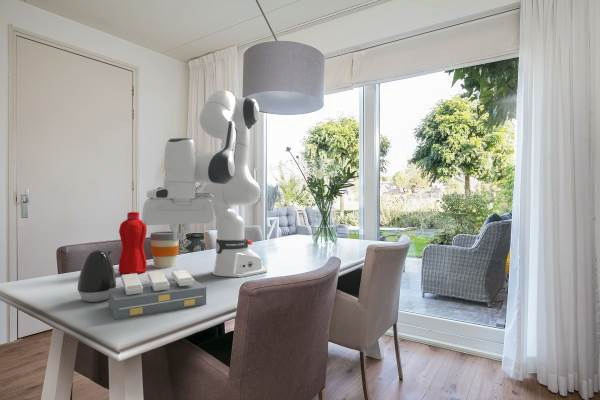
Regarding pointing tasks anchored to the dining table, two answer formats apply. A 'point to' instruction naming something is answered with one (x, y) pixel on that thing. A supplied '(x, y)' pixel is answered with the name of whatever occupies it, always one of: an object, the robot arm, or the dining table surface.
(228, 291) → the dining table surface
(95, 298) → the black rounded dome
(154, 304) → the console
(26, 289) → the dining table surface
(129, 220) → the water bottle
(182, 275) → the rocker
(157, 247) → the reusable coffee cup
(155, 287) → the block
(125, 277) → the rocker
